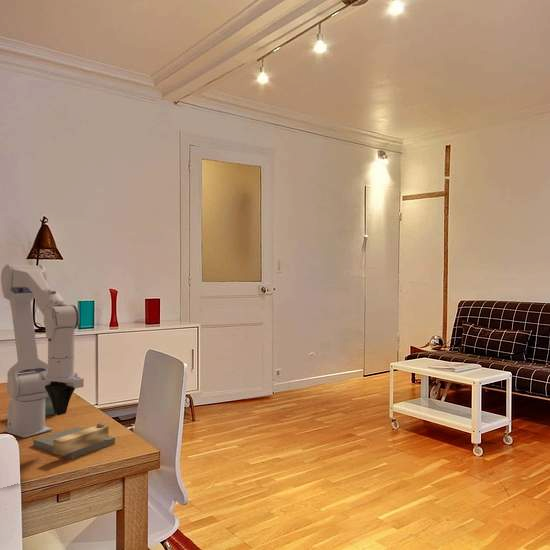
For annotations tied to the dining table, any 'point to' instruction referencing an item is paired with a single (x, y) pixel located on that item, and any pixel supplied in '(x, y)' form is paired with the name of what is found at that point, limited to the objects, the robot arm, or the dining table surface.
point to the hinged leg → (80, 439)
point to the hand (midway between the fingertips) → (60, 414)
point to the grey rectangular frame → (47, 441)
